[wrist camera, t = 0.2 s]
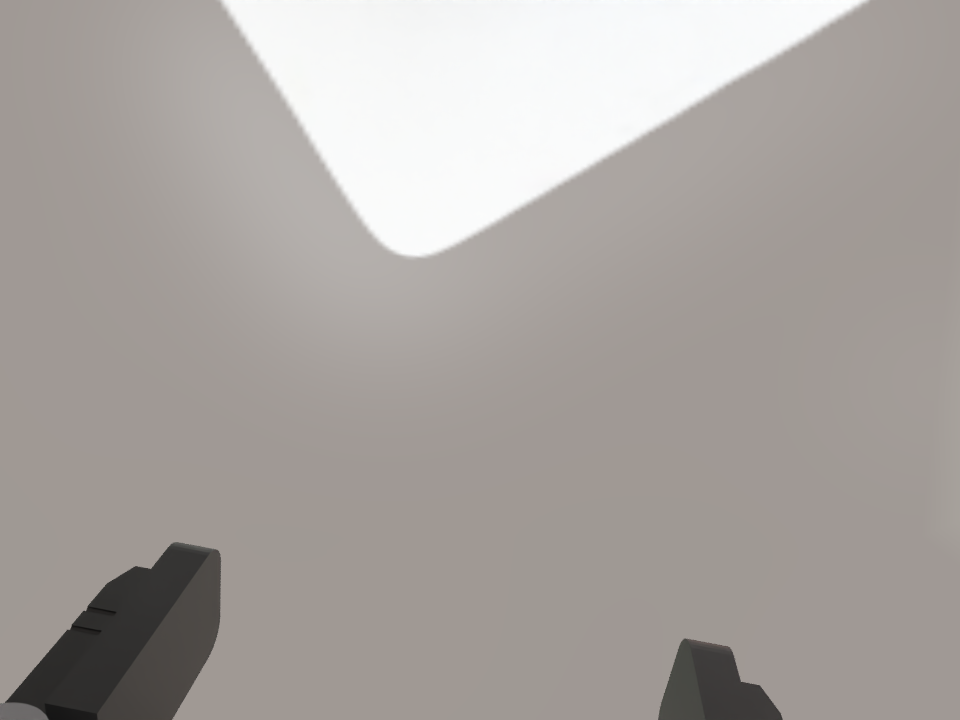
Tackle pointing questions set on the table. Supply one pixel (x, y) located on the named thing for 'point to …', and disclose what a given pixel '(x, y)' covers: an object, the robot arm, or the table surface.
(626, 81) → the table surface
